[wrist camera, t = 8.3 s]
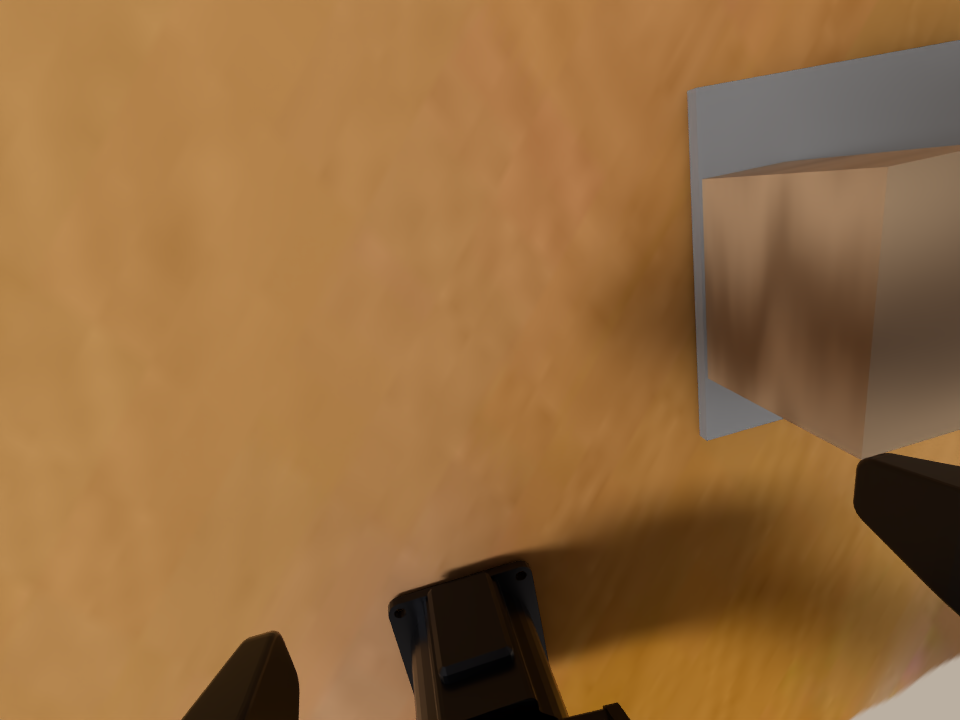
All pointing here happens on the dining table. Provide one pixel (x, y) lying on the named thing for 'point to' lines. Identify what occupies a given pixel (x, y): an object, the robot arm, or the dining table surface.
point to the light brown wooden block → (839, 294)
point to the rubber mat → (809, 151)
